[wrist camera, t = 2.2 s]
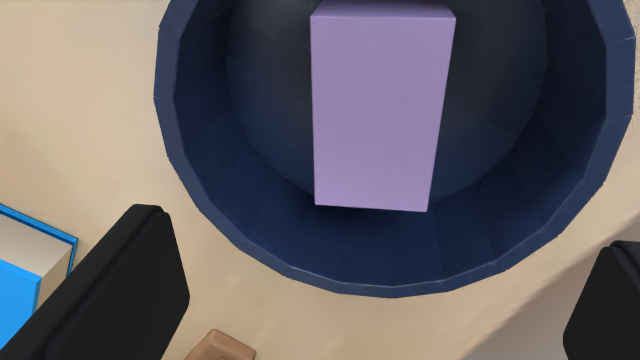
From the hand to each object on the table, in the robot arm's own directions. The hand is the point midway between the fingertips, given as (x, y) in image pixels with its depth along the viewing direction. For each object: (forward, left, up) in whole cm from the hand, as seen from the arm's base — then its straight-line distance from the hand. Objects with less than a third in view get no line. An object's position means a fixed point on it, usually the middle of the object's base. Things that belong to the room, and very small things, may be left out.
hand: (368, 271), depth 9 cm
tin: (0, 0, -12) cm, 12 cm away
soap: (0, 0, -11) cm, 11 cm away
